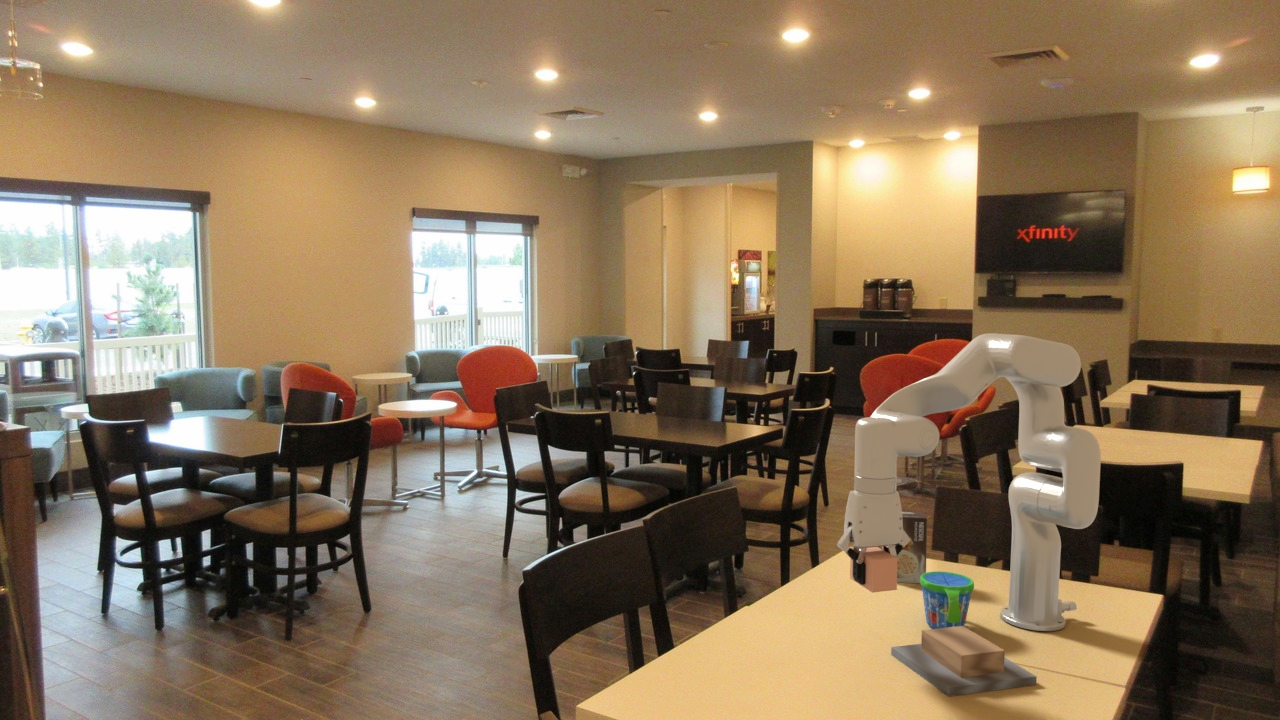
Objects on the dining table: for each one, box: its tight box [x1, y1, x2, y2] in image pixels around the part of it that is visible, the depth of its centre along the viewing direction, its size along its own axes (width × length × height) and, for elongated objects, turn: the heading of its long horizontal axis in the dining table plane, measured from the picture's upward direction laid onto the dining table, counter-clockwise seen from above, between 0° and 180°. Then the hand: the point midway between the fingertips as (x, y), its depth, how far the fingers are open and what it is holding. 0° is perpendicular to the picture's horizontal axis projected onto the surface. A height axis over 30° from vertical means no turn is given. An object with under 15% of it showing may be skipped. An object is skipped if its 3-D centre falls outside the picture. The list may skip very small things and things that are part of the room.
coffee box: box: [897, 510, 928, 584], centre depth 214 cm, size 9×6×16 cm
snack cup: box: [919, 571, 975, 629], centre depth 184 cm, size 16×10×10 cm
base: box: [890, 626, 1037, 697], centre depth 163 cm, size 18×18×6 cm
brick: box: [849, 546, 898, 593], centre depth 164 cm, size 5×8×6 cm, turn 16°
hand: (873, 579), depth 165 cm, fingers closed on brick, 5 cm apart
